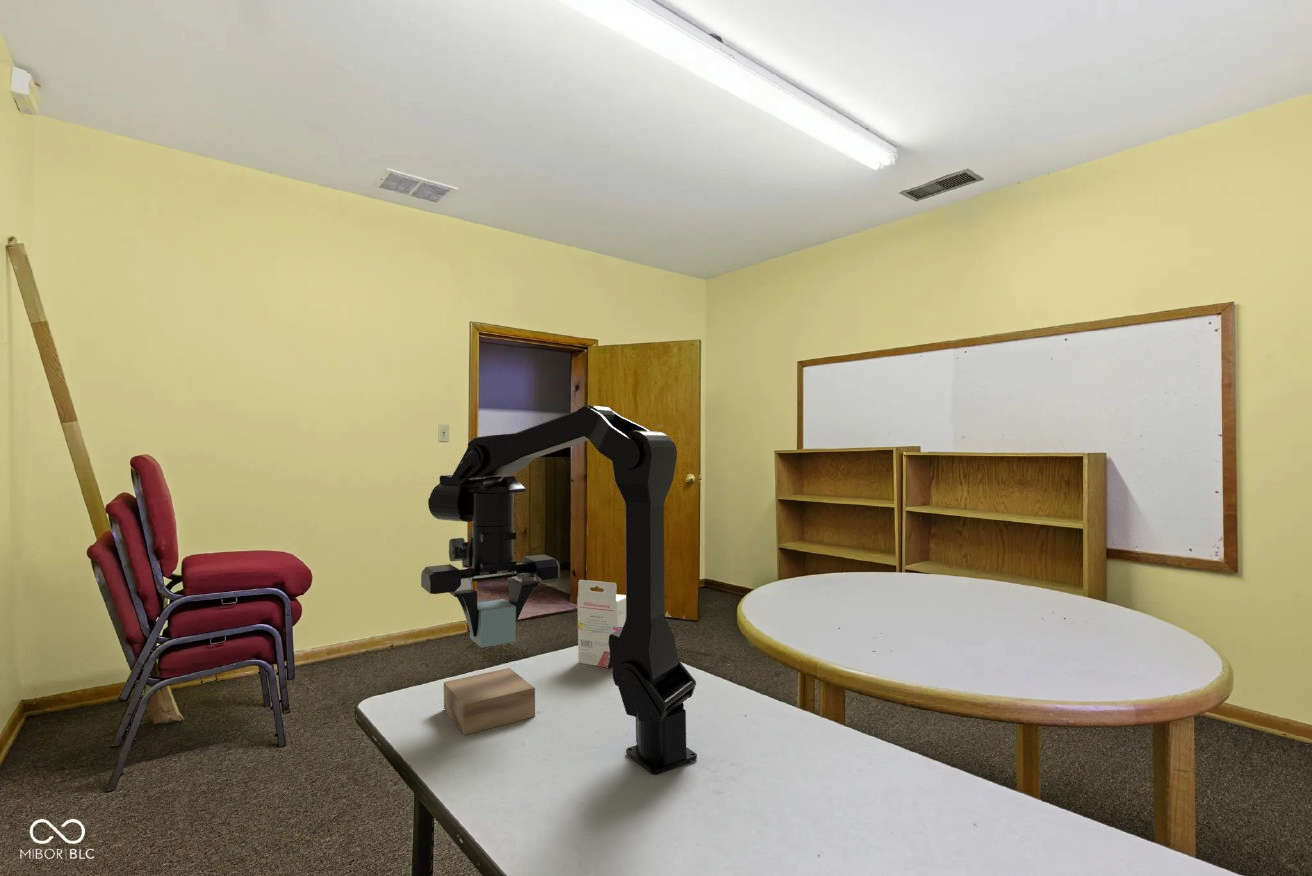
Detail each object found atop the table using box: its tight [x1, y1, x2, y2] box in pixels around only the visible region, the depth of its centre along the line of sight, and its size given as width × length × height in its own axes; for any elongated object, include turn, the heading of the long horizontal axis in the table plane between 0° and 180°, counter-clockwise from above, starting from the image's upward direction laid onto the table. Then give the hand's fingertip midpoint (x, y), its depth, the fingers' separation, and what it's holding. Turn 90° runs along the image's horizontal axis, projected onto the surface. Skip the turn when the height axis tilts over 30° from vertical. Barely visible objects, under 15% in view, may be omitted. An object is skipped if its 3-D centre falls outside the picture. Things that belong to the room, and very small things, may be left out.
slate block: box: [469, 598, 517, 648], centre depth 90 cm, size 5×5×5 cm
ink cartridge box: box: [576, 579, 626, 668], centre depth 111 cm, size 9×5×15 cm, turn 62°
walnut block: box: [443, 667, 536, 736], centre depth 90 cm, size 10×10×4 cm
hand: (492, 632), depth 90 cm, fingers closed on slate block, 5 cm apart
